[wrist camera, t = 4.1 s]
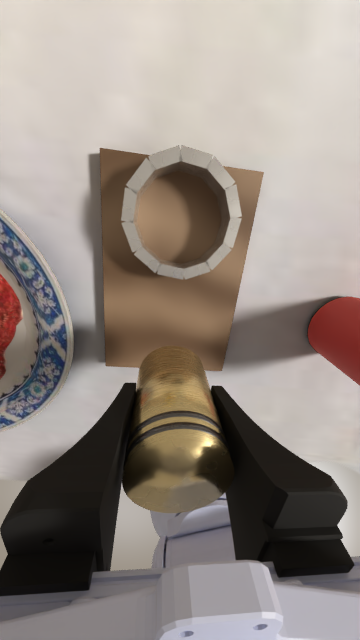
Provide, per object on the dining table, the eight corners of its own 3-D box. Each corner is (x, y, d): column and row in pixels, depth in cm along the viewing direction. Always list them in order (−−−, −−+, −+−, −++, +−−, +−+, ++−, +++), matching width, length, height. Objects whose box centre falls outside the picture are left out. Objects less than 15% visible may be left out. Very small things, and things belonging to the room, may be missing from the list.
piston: (174, 409, 17) (182, 525, 10) (124, 378, 15) (97, 488, 9) (217, 370, 15) (257, 470, 9) (168, 332, 14) (175, 419, 8)
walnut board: (219, 365, 24) (221, 370, 23) (107, 360, 23) (105, 366, 22) (258, 175, 18) (263, 172, 17) (103, 152, 16) (99, 147, 15)
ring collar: (182, 290, 20) (184, 299, 17) (106, 223, 17) (97, 222, 15) (250, 218, 18) (263, 216, 16) (176, 130, 15) (179, 112, 13)
